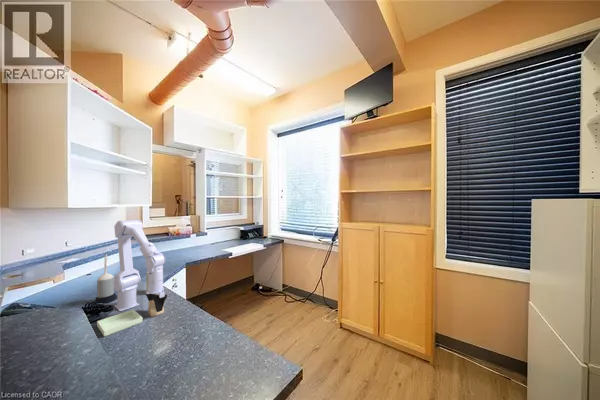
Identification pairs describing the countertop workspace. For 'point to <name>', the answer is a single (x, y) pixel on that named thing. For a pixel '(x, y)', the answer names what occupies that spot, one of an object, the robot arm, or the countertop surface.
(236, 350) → the countertop surface
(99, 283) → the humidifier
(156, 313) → the block
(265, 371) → the countertop surface
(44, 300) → the countertop surface
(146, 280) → the light wooden block
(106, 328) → the tray
